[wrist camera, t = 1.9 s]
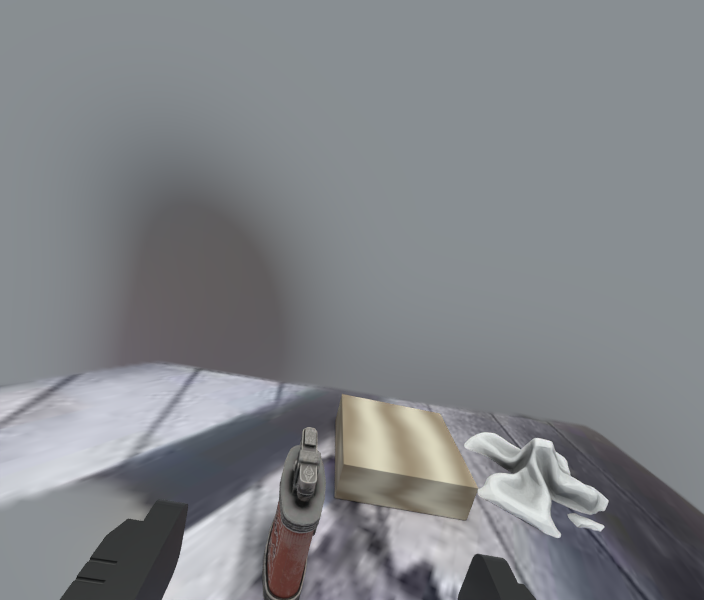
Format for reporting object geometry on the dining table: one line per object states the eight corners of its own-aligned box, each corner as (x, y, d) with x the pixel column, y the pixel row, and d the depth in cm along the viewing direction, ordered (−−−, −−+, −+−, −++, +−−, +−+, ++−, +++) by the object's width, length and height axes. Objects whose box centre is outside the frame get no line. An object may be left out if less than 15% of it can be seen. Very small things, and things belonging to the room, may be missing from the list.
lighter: (304, 612, 25) (335, 494, 23) (255, 609, 25) (282, 488, 23) (307, 517, 33) (331, 422, 31) (270, 513, 32) (291, 416, 30)
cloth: (495, 535, 37) (515, 485, 36) (441, 429, 55) (452, 393, 54) (682, 562, 40) (707, 517, 38) (571, 453, 58) (585, 419, 56)
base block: (432, 438, 51) (440, 413, 50) (466, 520, 37) (478, 488, 36) (335, 419, 50) (342, 394, 49) (334, 497, 36) (343, 464, 35)
